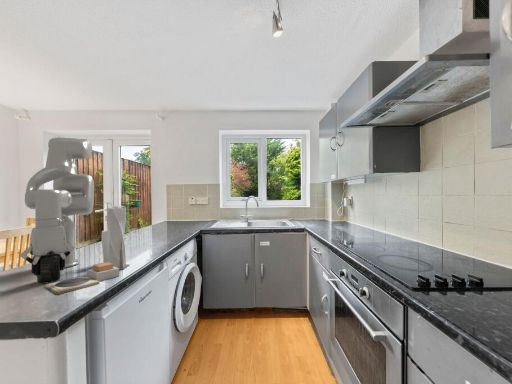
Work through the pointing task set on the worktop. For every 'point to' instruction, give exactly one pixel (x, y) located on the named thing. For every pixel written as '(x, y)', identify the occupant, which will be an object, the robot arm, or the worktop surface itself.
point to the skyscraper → (116, 236)
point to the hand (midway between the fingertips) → (48, 271)
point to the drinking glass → (105, 245)
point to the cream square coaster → (71, 284)
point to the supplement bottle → (49, 268)
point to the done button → (102, 266)
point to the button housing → (103, 274)
